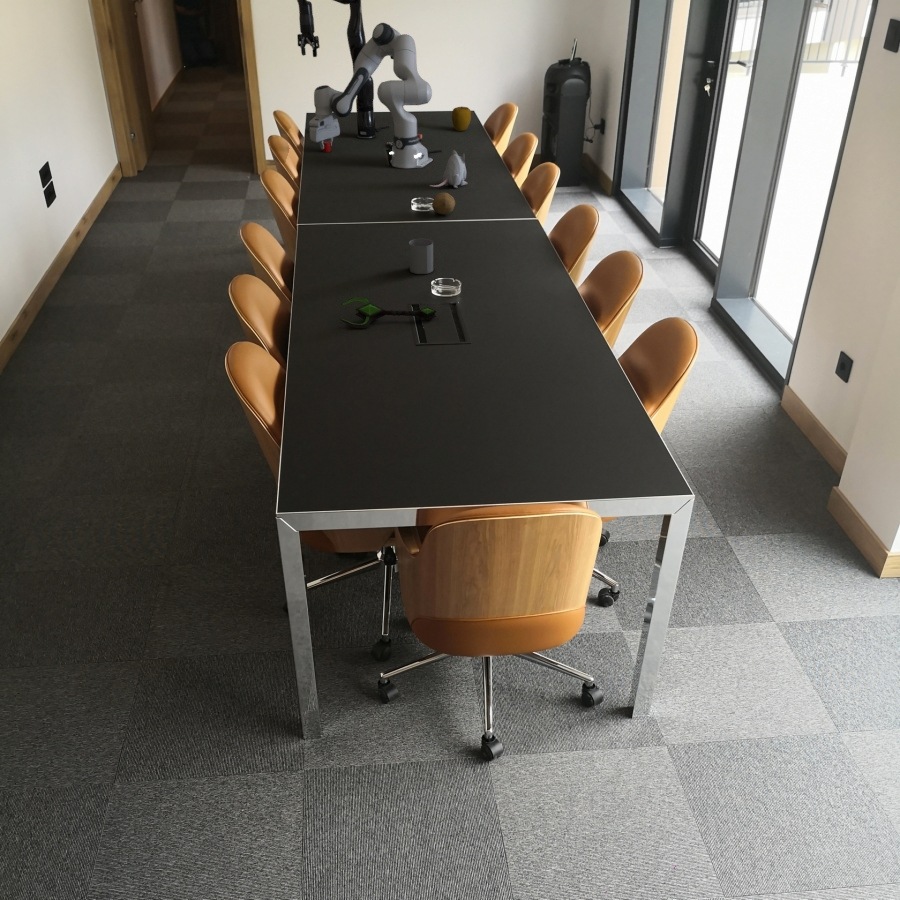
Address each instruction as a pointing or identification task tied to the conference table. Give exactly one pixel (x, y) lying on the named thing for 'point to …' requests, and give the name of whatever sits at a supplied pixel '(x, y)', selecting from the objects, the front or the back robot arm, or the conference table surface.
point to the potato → (443, 203)
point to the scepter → (383, 312)
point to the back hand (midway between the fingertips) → (309, 56)
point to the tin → (326, 146)
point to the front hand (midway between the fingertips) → (326, 147)
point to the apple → (461, 118)
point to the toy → (454, 171)
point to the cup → (421, 256)
